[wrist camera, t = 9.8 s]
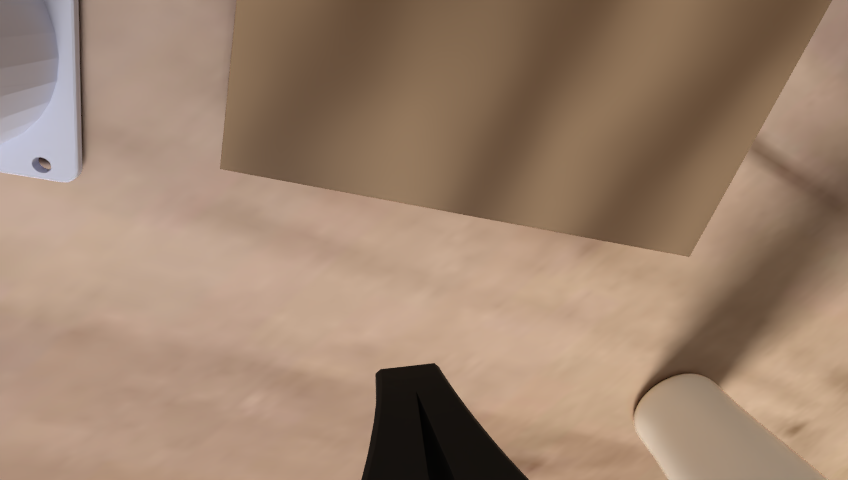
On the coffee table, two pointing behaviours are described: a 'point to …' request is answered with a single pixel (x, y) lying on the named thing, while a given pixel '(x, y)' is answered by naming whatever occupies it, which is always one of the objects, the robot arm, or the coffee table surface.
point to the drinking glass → (711, 435)
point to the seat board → (515, 105)
